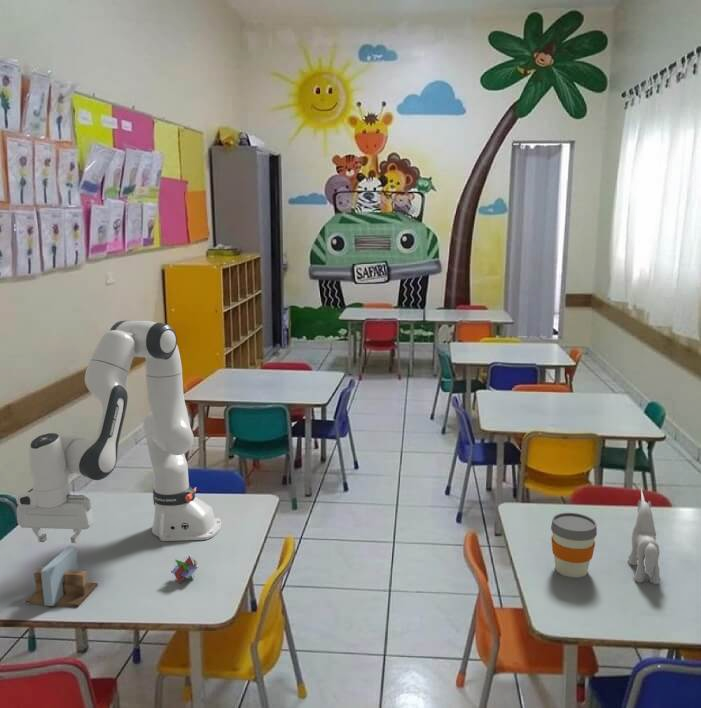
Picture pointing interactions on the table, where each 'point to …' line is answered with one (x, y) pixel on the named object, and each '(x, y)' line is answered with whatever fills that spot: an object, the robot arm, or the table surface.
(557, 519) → the reusable coffee cup
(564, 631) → the table surface
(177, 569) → the geometric puzzle
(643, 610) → the table surface
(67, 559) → the slotted plate
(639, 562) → the unicorn
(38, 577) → the jig
